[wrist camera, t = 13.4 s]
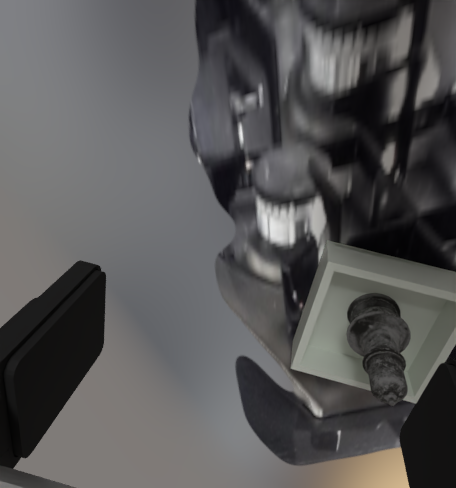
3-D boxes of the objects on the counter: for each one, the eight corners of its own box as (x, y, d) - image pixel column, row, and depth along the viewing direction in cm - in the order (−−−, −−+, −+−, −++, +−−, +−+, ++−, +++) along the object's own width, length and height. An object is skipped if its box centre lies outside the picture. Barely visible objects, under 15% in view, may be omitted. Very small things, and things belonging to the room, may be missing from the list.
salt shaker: (400, 338, 42) (428, 436, 32) (342, 335, 43) (351, 428, 33) (406, 291, 40) (439, 381, 29) (345, 289, 41) (355, 374, 30)
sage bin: (326, 240, 40) (328, 261, 36) (465, 274, 38) (482, 300, 35) (292, 341, 46) (290, 368, 42) (410, 373, 45) (419, 404, 41)
